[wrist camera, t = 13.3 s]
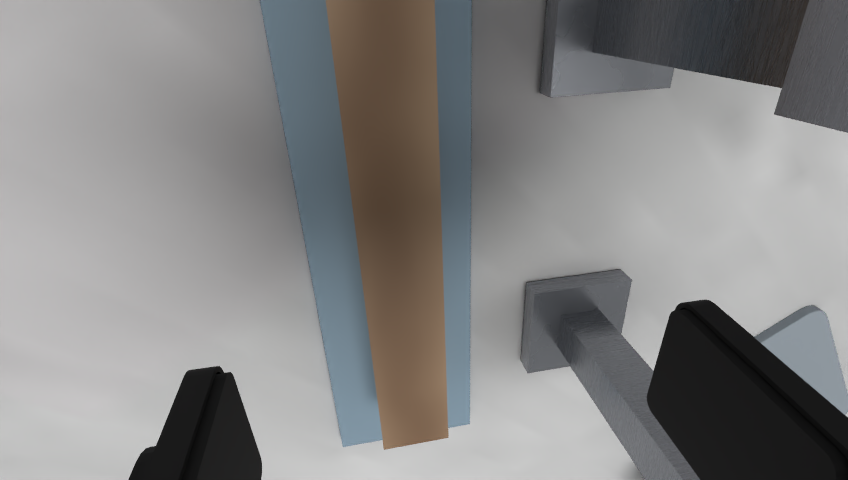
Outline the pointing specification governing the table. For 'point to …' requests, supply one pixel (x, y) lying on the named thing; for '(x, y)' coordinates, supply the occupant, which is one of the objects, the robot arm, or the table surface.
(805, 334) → the shower valve
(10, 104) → the table surface
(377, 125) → the rail
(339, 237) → the mat
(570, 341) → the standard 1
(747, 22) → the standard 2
